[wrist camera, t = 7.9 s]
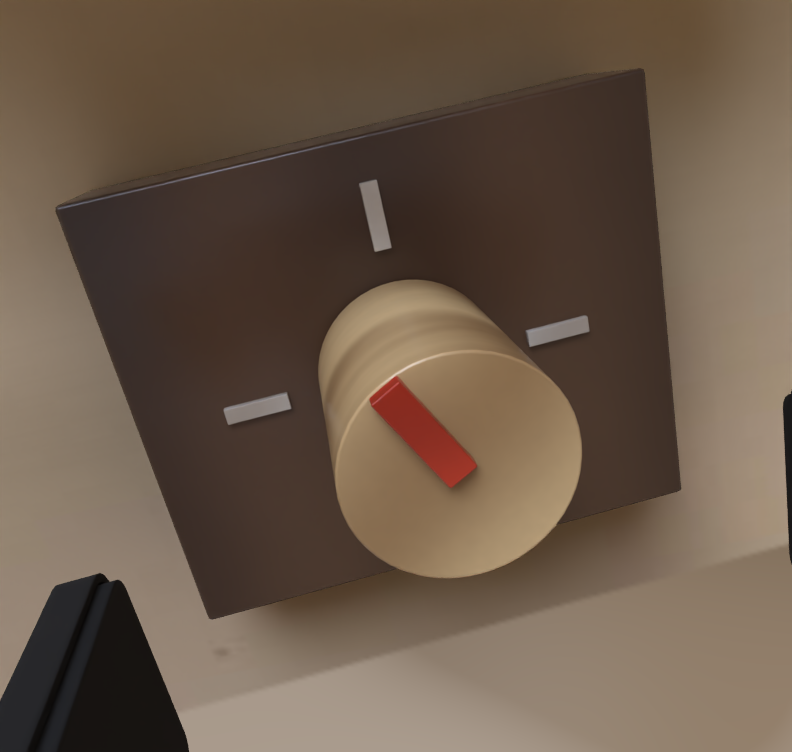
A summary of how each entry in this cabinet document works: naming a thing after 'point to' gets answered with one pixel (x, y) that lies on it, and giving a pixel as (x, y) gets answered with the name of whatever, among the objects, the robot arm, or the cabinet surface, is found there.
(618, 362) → the hob panel
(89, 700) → the robot arm
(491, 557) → the knob
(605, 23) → the cabinet surface
